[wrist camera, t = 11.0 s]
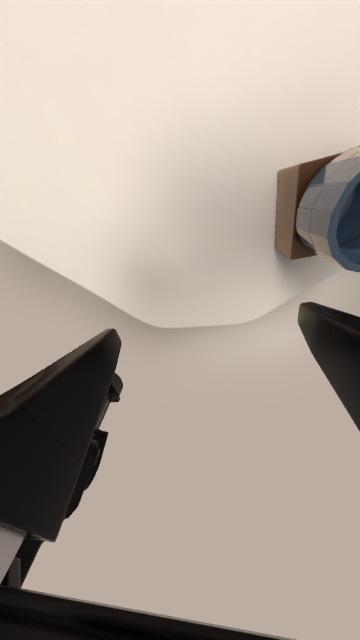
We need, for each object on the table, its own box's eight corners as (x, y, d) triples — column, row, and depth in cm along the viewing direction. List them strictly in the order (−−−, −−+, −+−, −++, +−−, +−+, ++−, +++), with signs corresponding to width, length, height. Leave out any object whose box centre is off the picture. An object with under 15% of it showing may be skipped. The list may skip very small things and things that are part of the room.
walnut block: (346, 234, 17) (381, 244, 14) (274, 248, 18) (290, 260, 15) (366, 147, 14) (418, 132, 10) (277, 170, 15) (299, 164, 12)
